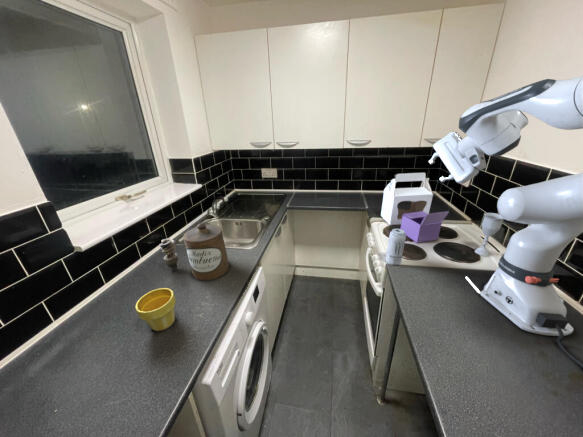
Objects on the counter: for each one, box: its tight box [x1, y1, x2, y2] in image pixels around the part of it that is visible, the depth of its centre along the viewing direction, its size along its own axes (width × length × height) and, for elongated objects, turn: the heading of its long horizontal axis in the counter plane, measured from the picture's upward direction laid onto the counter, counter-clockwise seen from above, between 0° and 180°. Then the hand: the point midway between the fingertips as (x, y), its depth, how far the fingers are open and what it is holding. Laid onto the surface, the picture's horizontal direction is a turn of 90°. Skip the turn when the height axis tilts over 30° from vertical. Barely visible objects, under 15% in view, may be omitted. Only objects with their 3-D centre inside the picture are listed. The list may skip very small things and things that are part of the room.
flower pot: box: [134, 287, 177, 332], centre depth 71 cm, size 10×10×10 cm
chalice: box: [474, 212, 505, 257], centre depth 99 cm, size 7×7×18 cm
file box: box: [399, 211, 443, 244], centre depth 117 cm, size 13×12×10 cm
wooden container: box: [182, 222, 230, 281], centre depth 94 cm, size 15×15×22 cm
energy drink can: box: [385, 228, 407, 266], centre depth 96 cm, size 6×6×15 cm
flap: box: [421, 210, 450, 224], centre depth 107 cm, size 6×12×1 cm
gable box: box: [380, 172, 434, 226], centre depth 132 cm, size 22×13×28 cm, turn 92°
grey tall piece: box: [159, 238, 179, 272], centre depth 96 cm, size 6×6×15 cm
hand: (434, 171), depth 96 cm, fingers open, 8 cm apart
